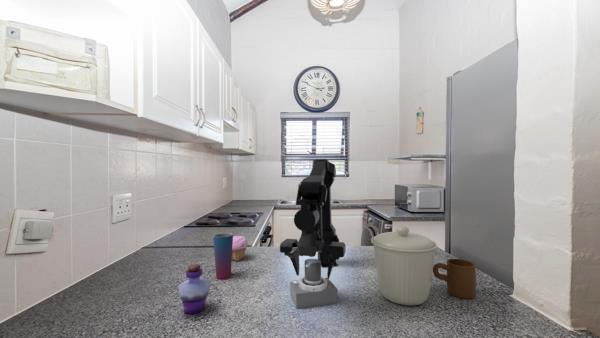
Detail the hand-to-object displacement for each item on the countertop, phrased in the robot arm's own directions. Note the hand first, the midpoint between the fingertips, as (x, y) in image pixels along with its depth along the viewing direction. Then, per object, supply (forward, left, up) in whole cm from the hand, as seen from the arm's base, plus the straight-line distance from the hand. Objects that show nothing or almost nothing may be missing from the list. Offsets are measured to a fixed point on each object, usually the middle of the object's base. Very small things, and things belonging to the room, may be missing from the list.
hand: (312, 276), depth 78 cm
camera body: (0, 0, -6) cm, 6 cm away
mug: (-42, +8, -7) cm, 43 cm away
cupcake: (+21, -42, -7) cm, 47 cm away
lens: (0, 0, -2) cm, 3 cm away
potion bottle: (+33, -3, -7) cm, 34 cm away
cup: (+26, -24, -7) cm, 36 cm away
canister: (-26, +6, -7) cm, 28 cm away
